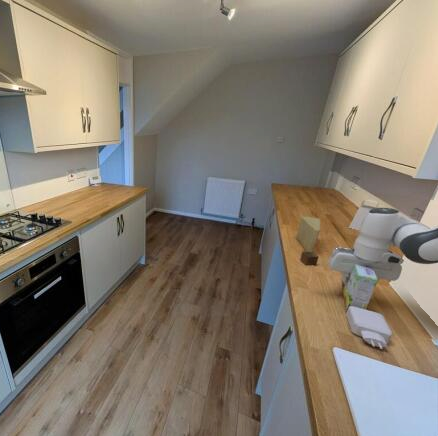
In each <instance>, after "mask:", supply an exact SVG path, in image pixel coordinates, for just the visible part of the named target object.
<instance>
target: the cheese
mask: <svg viewBox="0 0 438 436" xmlns="http://www.w3.org/2000/svg"><path fill="white" fill-rule="evenodd" d="M321 225H322V219H321V218H318V217H311V216H301V217H300V221H299V225H298V230H297V233H296V237H295V238H296V239H297V241H298V242H299V243H300V244H301V246H302V247H303V249H304V250H305V251H304V252H313V253H314V250H315V246H316V244H317V241H318V238H319V235H320V232H321Z"/></svg>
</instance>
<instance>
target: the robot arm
mask: <svg viewBox="0 0 438 436" xmlns="http://www.w3.org/2000/svg"><path fill="white" fill-rule="evenodd" d="M358 232H359V233H358V235H357V237H356V238H355V241H354V243H353V246H352V248H348V247H342V246H338V247H335V248H333V249H332V251H331V256H330V257H329V260H328V262H327V265H328V267H329V268H330V269H331V270H332V271H335V272H340V274H341V275H342V276H341V280H340V281H341V283H342V282H348V280H349V279H348V277H346V276H345V275H347V273H352V271H353V268H354V266H355V264H359V265H366V266H371V267H373V270H374V272H375V274H376V277H377V279H378V281H377V282H379V281H380V279H382V280H387V281H393V282H396V281H397V280H399V278H400V276H401V273H402V270H403V266H402V264H403V263H404V262H405V261H404V260H405V259H404V258H403V257H402V256H401V255H399V254H398V253H397V252H396V251H393V250H392V249H389V248H390V247H397V248H398V249H399V250H400V251H401V253H402V254H403V256H404V257H405V258H406V259H408V260H409V261H411V262H413V263H416V264H419V265H420V264H421V265H433V264H438V226H436V227H434V228H430V227H429V226H428V225H426V224H425V223H422V222H420V221H418V220H415V219H412V218H410V217H408V216H406V215H405V214H403V213H402V212H401V211H400V210H398V209H395V208H392V207H391V208H390V207H378V208H375V209H372V210H370V211H369V212H368V213H367V214H366V216H365V218H364V220H363V222H362V224H361V227H360V229H359V231H358Z"/></svg>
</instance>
